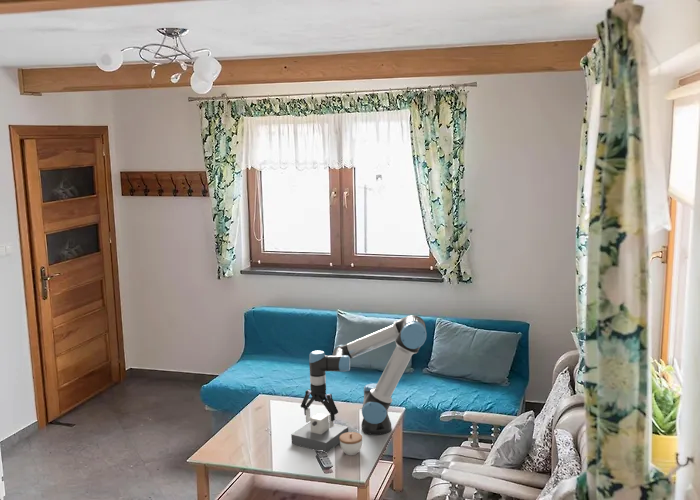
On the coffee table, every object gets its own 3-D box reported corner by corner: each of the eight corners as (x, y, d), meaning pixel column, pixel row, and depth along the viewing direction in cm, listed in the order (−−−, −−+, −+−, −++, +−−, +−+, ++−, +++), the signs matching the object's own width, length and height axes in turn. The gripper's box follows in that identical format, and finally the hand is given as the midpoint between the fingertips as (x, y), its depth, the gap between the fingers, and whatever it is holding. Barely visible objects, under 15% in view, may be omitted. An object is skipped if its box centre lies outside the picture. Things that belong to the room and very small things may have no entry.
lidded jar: (355, 459, 318) (354, 440, 317) (335, 454, 324) (334, 435, 322) (366, 450, 327) (366, 431, 326) (347, 445, 333) (347, 426, 331)
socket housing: (348, 436, 343) (348, 426, 342) (326, 452, 326) (326, 442, 325) (314, 428, 353) (314, 419, 352) (291, 444, 336) (291, 434, 335)
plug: (329, 435, 340) (328, 415, 339) (319, 442, 333) (318, 421, 331) (319, 432, 343) (318, 412, 342) (309, 439, 336) (308, 419, 334)
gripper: (344, 384, 331) (345, 426, 335) (301, 376, 344) (303, 416, 347) (335, 389, 325) (337, 432, 328) (292, 381, 337) (294, 422, 341)
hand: (319, 424), depth 338 cm, fingers open, 13 cm apart
